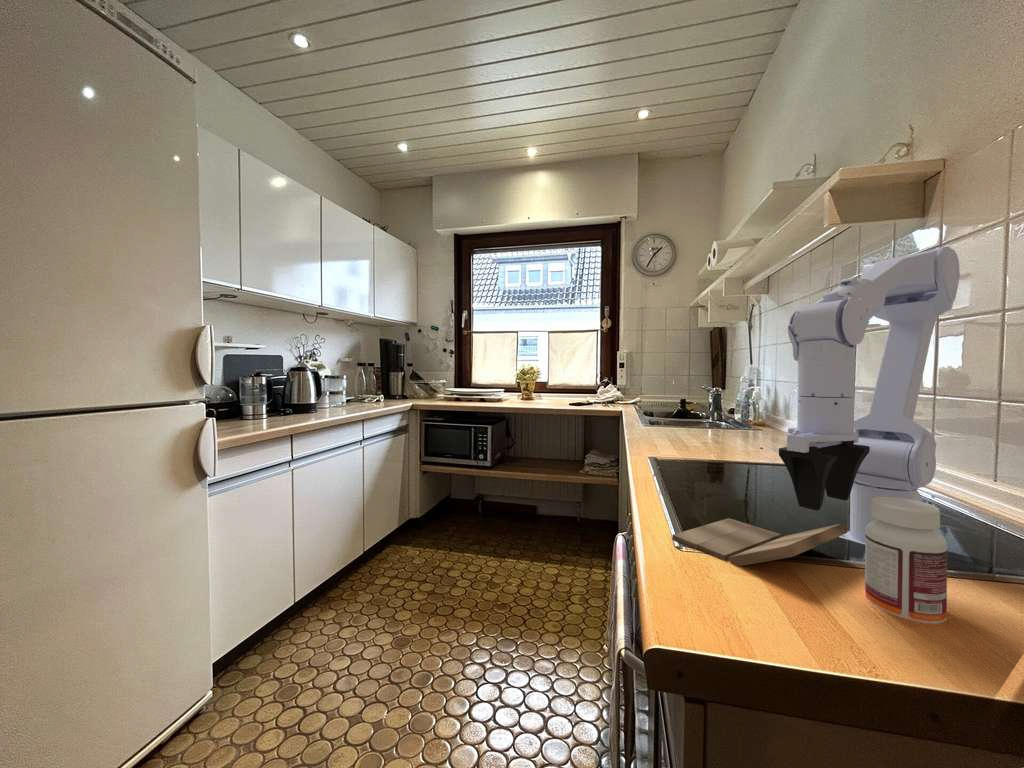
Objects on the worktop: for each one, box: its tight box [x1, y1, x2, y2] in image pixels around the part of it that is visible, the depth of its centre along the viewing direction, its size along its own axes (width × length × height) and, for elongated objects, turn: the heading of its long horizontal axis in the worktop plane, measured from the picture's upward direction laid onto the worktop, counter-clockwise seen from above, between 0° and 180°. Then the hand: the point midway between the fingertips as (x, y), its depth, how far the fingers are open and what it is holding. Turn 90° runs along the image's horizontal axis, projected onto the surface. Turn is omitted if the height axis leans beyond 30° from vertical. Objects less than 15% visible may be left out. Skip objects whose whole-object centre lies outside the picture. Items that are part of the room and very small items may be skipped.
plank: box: [728, 523, 848, 567], centre depth 53 cm, size 14×8×1 cm
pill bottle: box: [864, 497, 949, 624], centre depth 42 cm, size 6×6×11 cm
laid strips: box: [671, 517, 782, 561], centre depth 60 cm, size 14×9×1 cm, turn 120°
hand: (824, 503), depth 52 cm, fingers open, 7 cm apart
